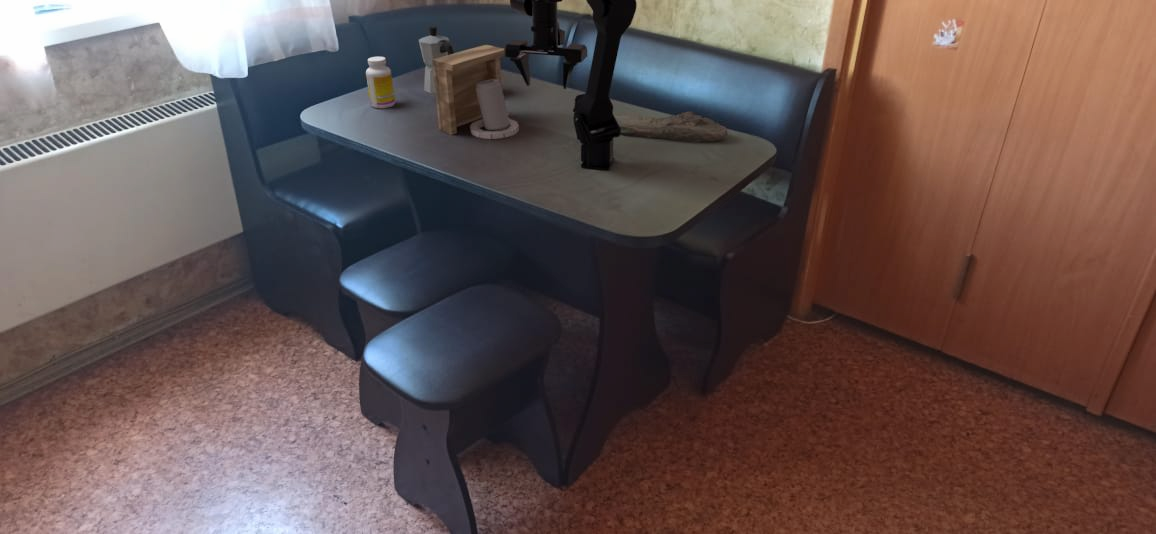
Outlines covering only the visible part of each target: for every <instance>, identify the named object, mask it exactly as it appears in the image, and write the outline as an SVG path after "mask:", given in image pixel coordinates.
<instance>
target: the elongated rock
mask: <svg viewBox="0 0 1156 534" xmlns="http://www.w3.org/2000/svg"><path fill="white" fill-rule="evenodd" d="M613 115H614V117H615V119H616V121H617V123H618V125H619V127H620V129H621V132H620V135H623V136H634V137H639V138H640V137H641V138H648V139H668V140H672V141H686V142H696V143H702V142H715V141H717V142H718V141H724V140H725V139H726V137H727V136H728V129H727V127H726V126H724V125H721V124H719V122H715V120H713V119H711V118H708V117H702V116H701V115H697V114H694V112H693V111H686V112H682V113H681V114H680V113H679V114H677V115H669V116H666V117H656V118H655V117H650V116H637V115H635V116H633V115H622V114H613ZM600 130H604V128H601V129H597V130H594V132H596V131H600Z"/></svg>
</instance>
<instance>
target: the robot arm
mask: <svg viewBox="0 0 1156 534" xmlns="http://www.w3.org/2000/svg"><path fill="white" fill-rule="evenodd" d="M585 1H586V2H587V4H588V5H589V7H590V9H591V10H592V20H593V23H594V25H595V28H596V30H597V32H596V33H597V34H596V38H595V44H594V50H593V54H592V61H591V66H590V70H589V76H588V82H587V87H586V91H585V93H582V94H578V95H576V96H575V98H574V107H573V109H572V113H573V119H572V120H573V125H574V129H575V133H576V139H577V140H578V141H579V143H580V144H581V145H580V161H581V162H582V163H581V164H580V167H581V168H583V169H585V168H586V169H593V170H594V169H596V170H602V171H608V170H609V171H610V169H611V167H612V165H613V163H614V162H615V160H616V157H614V139H615V138H620V135H621V134H620V132H621V129H620V127H619V125H618V123H617V121H616V119H615V117H614V115H615V114H614V105H613V103H612V100H611V98H610V92H611V86H612V81H613V77H614V72H615V67H616V62H617V58H618V53H619V50H620V49H619V48H620V43H621V39H622V36H623V35H624V33H625V32H626V31H627V29H628V28H629V27H630V26H631V24H632V22H633V19H634V17H635V14H636V11H637V0H585ZM560 2H563V0H509V3H510V7H511V9H512V10H513V11H515V12H517V13H519V14H522V15H526V16H528V17H531V19H532V26H530V31H531V32H532V39H533V40H532V44H531V45H530V44H529V43H528V40H522V39H512V40H511V41H509V42H508V43H507V44H505V46H504V48H503V49H504V54H505V56H504V57H505V58H509V61H511V62H513V63H514V64H515V66H516V68H517V69H518V71H519V72H520V75H521V76H522V79H523V81H524V82H525V85H526V87H529V86H531V75H530V63H529V59H530V55H542V56H543V55H544V56H555V57H556V56H558V57H564V60H565V61H564V62H562V86H563V89H564V90H566V89H567V87H568V85H569V82H570V78H571V75H572V73H573V70H574V67H576V66H577V65H578V64H579V63H582V62H584V60H585V59H586V58H587V57H588V47H587V46H586V45H585V44H579V43H569V45H568V46H566V47H560V46H561V45H565V39H566V38H565V37H566V30H563V29H560V22H558V3H560ZM601 128H604V130H600V131H599V130H597V129H601ZM595 130H597V131H595ZM593 131H594V132H593Z"/></svg>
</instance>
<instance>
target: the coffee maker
mask: <svg viewBox="0 0 1156 534" xmlns="http://www.w3.org/2000/svg"><path fill="white" fill-rule="evenodd" d="M437 29H438V27H437V26H433V25H432V26H428V30H429V35H427V36H423V37H421V38H419V39H418V43H419V48H420V52H421V56H422V59H423V63H424V64H425V67H424V82H423V83H424V85H423V86H424V87H423V92H424V91H426V92H429V93H430V94H429V93H428V94H429V95H436V93H435V83H434V74H433V64H432V60H433V59H436V58H440V57H443V56H447V55H450V54H454V53H455V51H454V49H453V46H452V45H451V44H450V38H449V37H447V36H445V35H443V36H442V35H437V31H438V30H437ZM426 92H425V93H426ZM431 93H432V94H431Z"/></svg>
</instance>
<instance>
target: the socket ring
mask: <svg viewBox="0 0 1156 534" xmlns="http://www.w3.org/2000/svg"><path fill="white" fill-rule="evenodd" d="M509 121H510V124H509V125H508V127H507V128H505V129H503V130H499V131H488V130H484V129H482V128H483V127H484V128H485V126H484V122H483V118H480V119H477V120H475V121H473V122H472V123H471V124H470V125H469V128H470V129H469V131H470V133H471V135H472V136H474V137H476V138H480V139H487V140H491V139H492V140H498V139H504V138H505V139H506V138H508V137H512V136H514V135H516V134H517V133H518V132H519V130H520V125H519V123H518V121H517V120H514V119H511V118H509Z"/></svg>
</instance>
